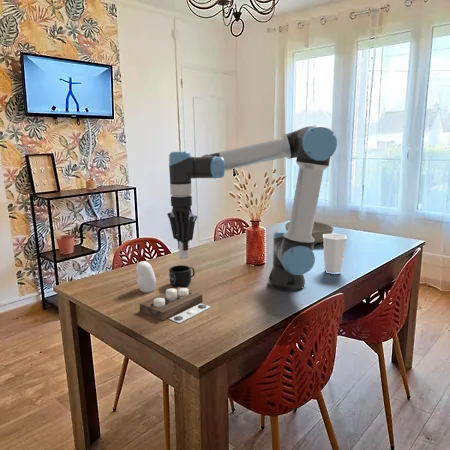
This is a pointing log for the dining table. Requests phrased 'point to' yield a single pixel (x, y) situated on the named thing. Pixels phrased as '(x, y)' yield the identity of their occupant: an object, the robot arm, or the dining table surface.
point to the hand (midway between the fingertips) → (183, 258)
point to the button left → (159, 302)
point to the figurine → (145, 277)
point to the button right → (183, 292)
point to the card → (189, 313)
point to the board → (170, 305)
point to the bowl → (318, 231)
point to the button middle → (171, 295)
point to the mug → (180, 275)
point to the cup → (333, 251)
